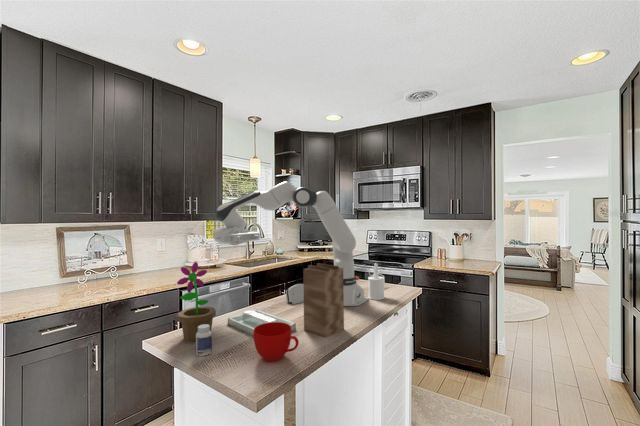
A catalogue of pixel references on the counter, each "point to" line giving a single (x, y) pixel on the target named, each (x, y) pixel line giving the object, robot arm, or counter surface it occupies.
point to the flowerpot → (197, 314)
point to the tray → (249, 328)
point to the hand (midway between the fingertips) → (249, 238)
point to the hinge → (295, 294)
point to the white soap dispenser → (376, 285)
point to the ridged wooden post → (323, 299)
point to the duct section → (256, 318)
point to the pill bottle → (203, 340)
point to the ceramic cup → (273, 340)
